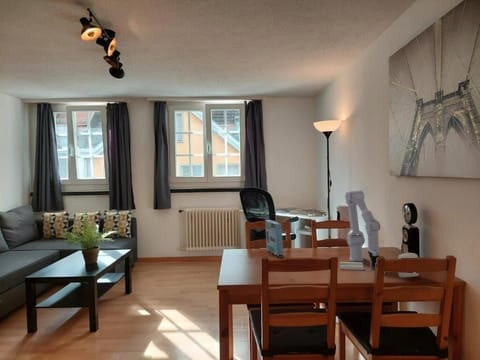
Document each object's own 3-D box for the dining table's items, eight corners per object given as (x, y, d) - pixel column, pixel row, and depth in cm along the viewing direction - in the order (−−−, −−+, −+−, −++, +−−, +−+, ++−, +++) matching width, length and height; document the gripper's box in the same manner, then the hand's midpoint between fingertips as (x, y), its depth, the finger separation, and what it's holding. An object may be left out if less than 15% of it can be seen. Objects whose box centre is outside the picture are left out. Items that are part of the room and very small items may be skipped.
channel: (340, 265, 204) (339, 261, 204) (362, 265, 200) (362, 262, 200) (339, 269, 196) (339, 265, 196) (363, 270, 192) (363, 266, 192)
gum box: (283, 256, 231) (281, 223, 231) (276, 257, 230) (275, 223, 229) (272, 250, 250) (271, 219, 249) (266, 250, 248) (264, 220, 248)
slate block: (370, 267, 197) (370, 260, 197) (377, 267, 196) (377, 260, 196) (371, 269, 193) (370, 262, 193) (378, 269, 192) (378, 262, 192)
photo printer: (401, 278, 176) (400, 254, 175) (397, 275, 180) (396, 252, 180) (420, 276, 177) (419, 253, 176) (415, 274, 181) (414, 251, 181)
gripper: (365, 239, 202) (365, 261, 202) (366, 244, 188) (367, 268, 189) (377, 239, 200) (378, 261, 200) (380, 244, 186) (381, 269, 186)
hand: (374, 265), depth 194 cm, fingers open, 7 cm apart
